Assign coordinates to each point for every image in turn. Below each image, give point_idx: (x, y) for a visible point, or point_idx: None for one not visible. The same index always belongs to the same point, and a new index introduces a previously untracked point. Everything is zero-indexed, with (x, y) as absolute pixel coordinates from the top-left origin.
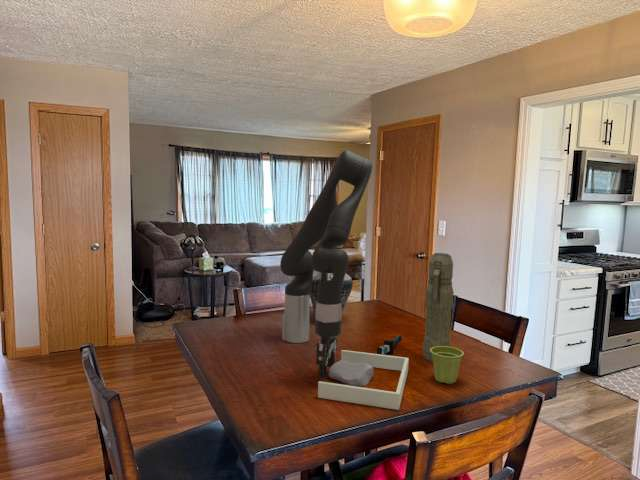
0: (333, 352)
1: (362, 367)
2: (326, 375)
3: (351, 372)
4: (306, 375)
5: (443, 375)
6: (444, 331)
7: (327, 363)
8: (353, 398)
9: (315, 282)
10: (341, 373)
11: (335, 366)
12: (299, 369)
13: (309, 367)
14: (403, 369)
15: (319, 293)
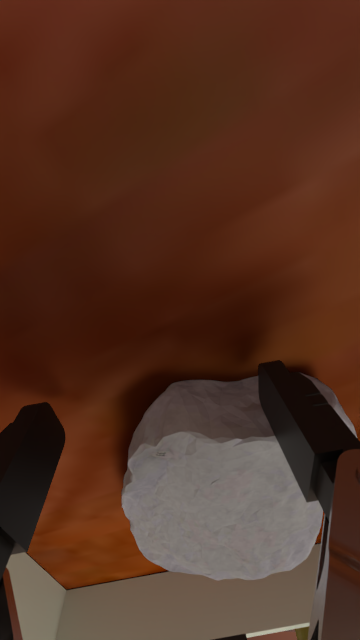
0: (320, 548)
1: (232, 567)
2: (55, 453)
3: (176, 527)
4: (106, 233)
5: (297, 631)
6: None
7: (270, 381)
8: None
9: None
10: (155, 486)
11: (203, 466)
12: (203, 74)
13: (294, 160)
14: (271, 630)
15: None
